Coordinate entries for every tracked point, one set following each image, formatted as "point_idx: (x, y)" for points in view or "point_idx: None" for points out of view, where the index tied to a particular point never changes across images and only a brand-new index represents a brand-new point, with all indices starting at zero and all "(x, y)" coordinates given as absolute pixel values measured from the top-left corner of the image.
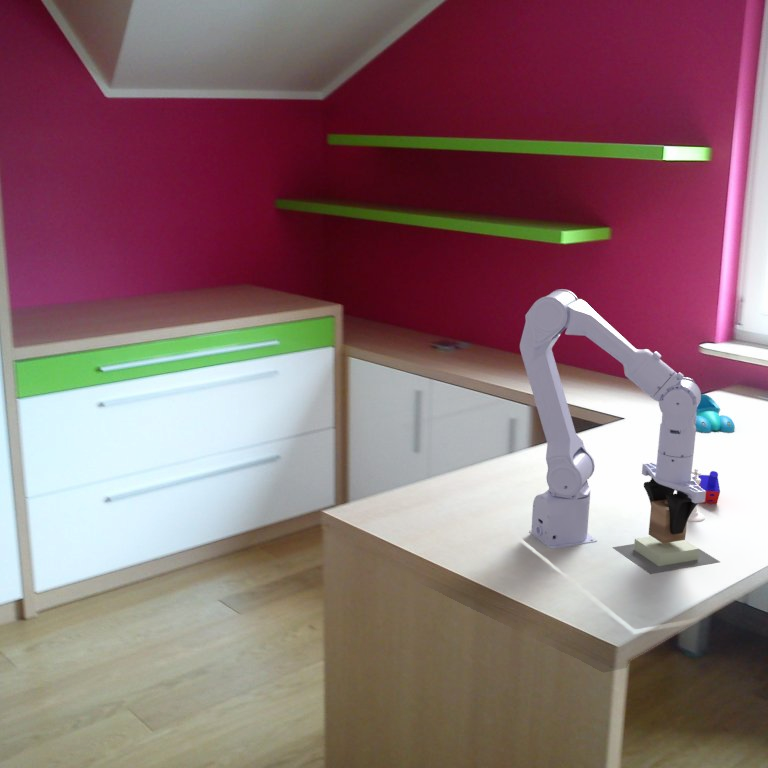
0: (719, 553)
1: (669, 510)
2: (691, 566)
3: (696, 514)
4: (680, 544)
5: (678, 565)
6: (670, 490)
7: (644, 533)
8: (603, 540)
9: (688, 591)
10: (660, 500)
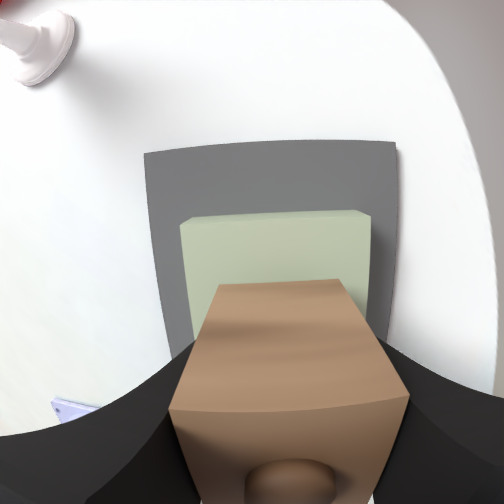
0: (306, 78)
1: (374, 499)
2: (393, 270)
3: (43, 31)
4: (307, 271)
5: (370, 308)
6: (144, 494)
7: (83, 251)
8: (123, 389)
9: (468, 345)
10: (201, 490)
